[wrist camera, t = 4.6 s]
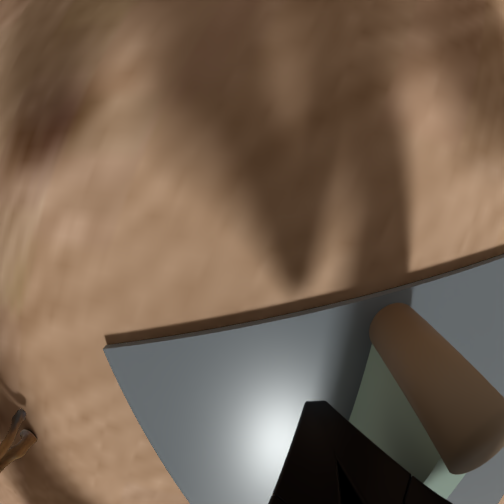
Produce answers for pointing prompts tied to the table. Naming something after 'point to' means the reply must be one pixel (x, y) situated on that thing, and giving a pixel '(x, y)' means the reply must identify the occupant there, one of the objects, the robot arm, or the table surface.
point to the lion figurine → (4, 455)
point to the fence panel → (426, 402)
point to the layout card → (293, 382)
